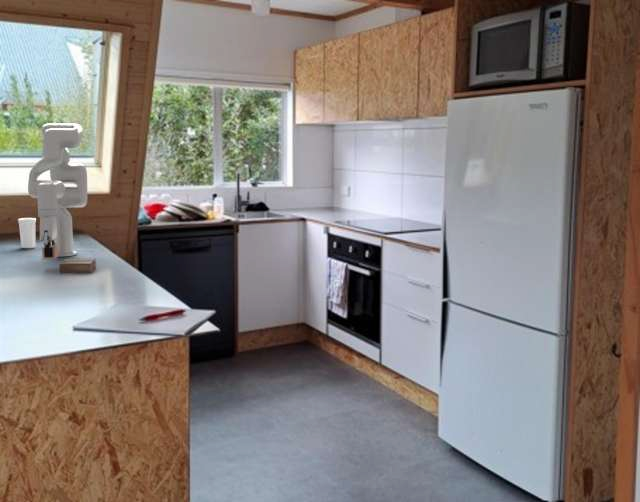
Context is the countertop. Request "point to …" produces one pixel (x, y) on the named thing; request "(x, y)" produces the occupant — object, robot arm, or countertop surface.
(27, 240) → the cup
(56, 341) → the countertop surface
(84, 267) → the walnut base
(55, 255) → the terracotta cube
